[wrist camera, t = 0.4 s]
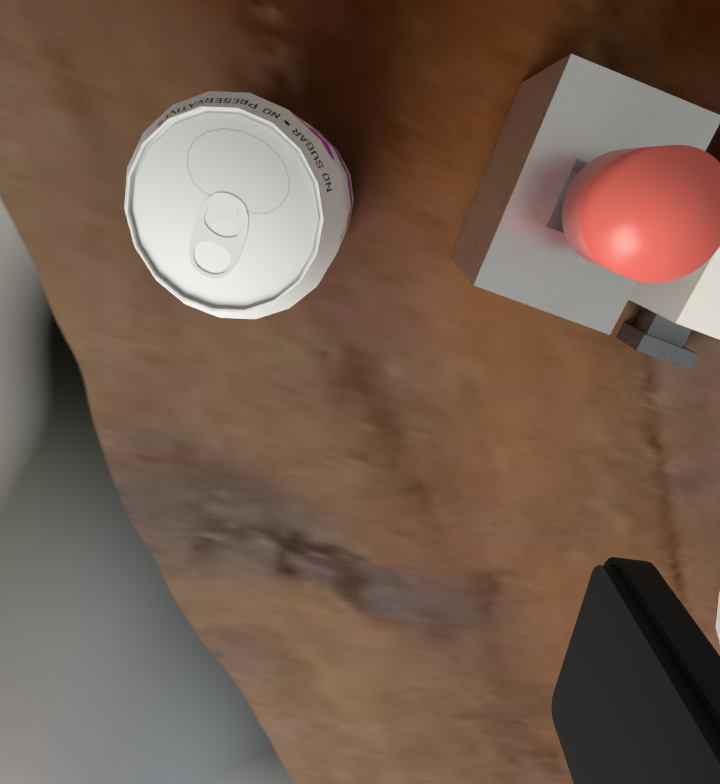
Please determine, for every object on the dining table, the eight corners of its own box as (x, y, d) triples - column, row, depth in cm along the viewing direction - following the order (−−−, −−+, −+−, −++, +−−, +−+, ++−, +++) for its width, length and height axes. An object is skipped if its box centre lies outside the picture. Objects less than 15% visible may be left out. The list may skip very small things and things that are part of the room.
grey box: (520, 83, 33) (571, 53, 24) (639, 131, 33) (729, 119, 25) (450, 258, 36) (473, 285, 28) (559, 298, 37) (615, 337, 28)
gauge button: (562, 136, 26) (638, 124, 19) (651, 172, 27) (760, 173, 19) (520, 234, 28) (574, 257, 20) (605, 266, 28) (689, 301, 21)
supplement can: (238, 96, 33) (140, 42, 19) (375, 156, 34) (377, 147, 20) (197, 235, 36) (83, 278, 22) (324, 287, 37) (295, 360, 23)
